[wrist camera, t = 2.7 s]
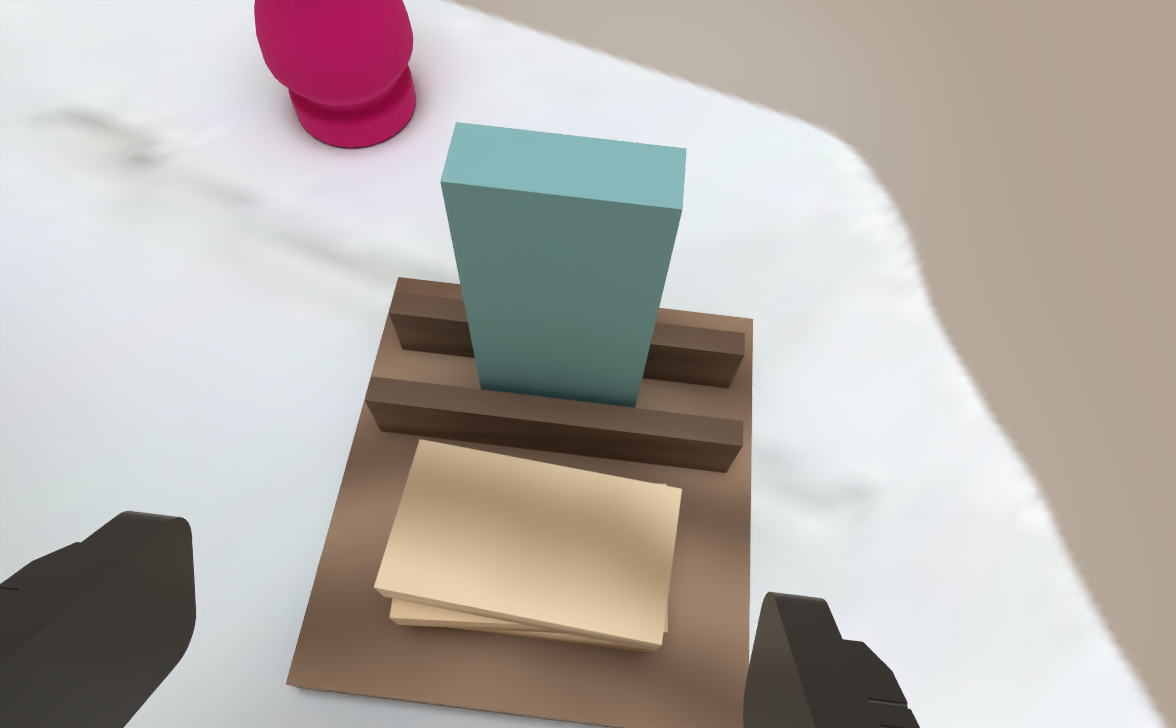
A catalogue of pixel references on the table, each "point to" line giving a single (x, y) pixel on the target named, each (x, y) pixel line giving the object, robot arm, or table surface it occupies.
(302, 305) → the table surface
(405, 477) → the rack
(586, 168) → the teal rectangular block
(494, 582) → the offcut top
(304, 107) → the pepper mill
